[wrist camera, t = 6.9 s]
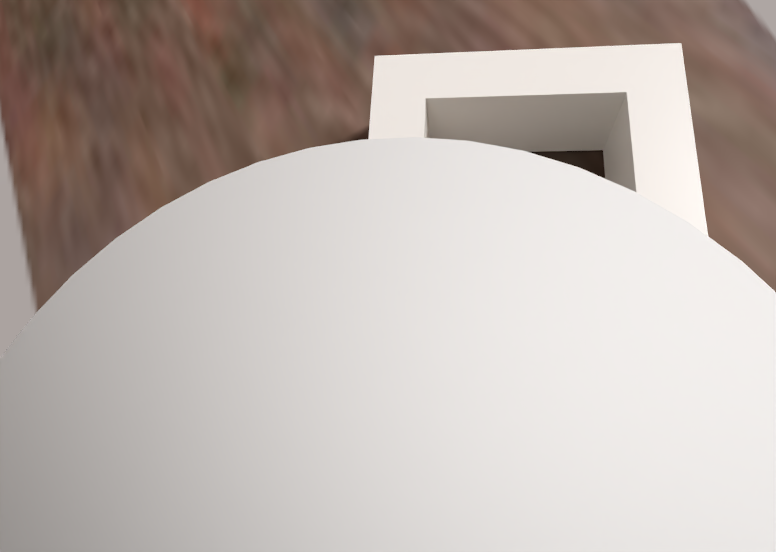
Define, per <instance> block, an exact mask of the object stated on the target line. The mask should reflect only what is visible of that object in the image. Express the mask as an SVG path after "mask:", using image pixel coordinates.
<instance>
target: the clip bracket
mask: <svg viewBox="0 0 776 552" xmlns="http://www.w3.org/2000/svg"><path fill="white" fill-rule="evenodd" d="M406 137H421V138H436V139H451V140H466V141H473V142H479V143H484V144H490V145H495V146H501V147H506V148H512V149H517V150H523V151H526V152H537V151H591V150H603V157H604V170H605V179H607V180H609V181H612V182H614V183H616V184H619V185H621V186H623V187H626V188H628V189H630V190H632V191H635V192H636V193H638V194H640V195H642V196H643V197H645V198H647V199H649V200H650V201H652V202H654V203H656V204H657V205H659V206H661V207H663V208H664V209H666V210H668V211H670V212H671V213H673V214H675V215H677V216H678V217H680V218H682V219H684V220H685V221H687V222H689V223H690V224H692V225H693V226H694V227H696V228H697V229H698V230H700V231H701V232H702V233H704V234H705V235H707V236H708V232H707V225H706V218H705V211H704V204H703V196H702V189H701V182H700V175H699V168H698V161H697V153H696V146H695V139H694V132H693V125H692V118H691V110H690V103H689V96H688V89H687V82H686V74H685V67H684V60H683V53H682V46H681V43H673V44H649V45H625V46H601V47H577V48H553V49H530V50H506V51H482V52H458V53H434V54H410V55H386V56H375V61H374V74H373V87H372V100H371V113H370V126H369V138H368V139H385V138H406Z"/></svg>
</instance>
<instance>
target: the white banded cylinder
mask: <svg viewBox="0 0 776 552" xmlns="http://www.w3.org/2000/svg"><path fill="white" fill-rule="evenodd" d="M0 552H776V292H775V291H774V290H773V289H772V288H771V287H769V286H768V285H767V284H766V283H765V282H764V281H763V280H762V279H761V278H760V277H759V276H757V275H756V274H755V273H754V272H753V271H752V270H751V269H750V268H749V267H748V266H747V265H745V264H744V263H743V262H742V261H741V260H739V259H738V258H737V257H735V256H734V255H733V254H731V253H730V252H728V251H727V250H726V249H724V248H723V247H722V246H720V245H719V244H718V243H716V242H715V241H713V240H712V239H711V238H709V237H708V236H707V235H705V234H704V233H702V232H701V231H700V230H698V229H697V228H696V227H694V226H693V225H692V224H690V223H689V222H687V221H685V220H684V219H682V218H680V217H678V216H677V215H675V214H673V213H671V212H670V211H668V210H666V209H664V208H663V207H661V206H659V205H657V204H656V203H654V202H652V201H650V200H649V199H647V198H645V197H643V196H642V195H640V194H638V193H636V192H635V191H632V190H630V189H628V188H626V187H623V186H621V185H619V184H616V183H614V182H612V181H609V180H607V179H605V178H602V177H600V176H598V175H595V174H593V173H591V172H588V171H586V170H584V169H581V168H579V167H576V166H573V165H569V164H566V163H563V162H559V161H556V160H553V159H549V158H546V157H543V156H540V155H536V154H533V153H530V152H526V151H523V150H517V149H512V148H506V147H501V146H495V145H490V144H484V143H479V142H473V141H466V140H451V139H436V138H421V137H406V138H385V139H364V140H356V141H350V142H343V143H337V144H331V145H325V146H319V147H312V148H307V149H304V150H300V151H297V152H293V153H289V154H286V155H282V156H279V157H275V158H272V159H268V160H264V161H261V162H258V163H255V164H253V165H250V166H248V167H245V168H243V169H240V170H238V171H235V172H233V173H230V174H228V175H225V176H223V177H220V178H218V179H215V180H213V181H210V182H208V183H206V184H204V185H202V186H201V187H199V188H197V189H195V190H193V191H191V192H189V193H187V194H186V195H184V196H182V197H180V198H178V199H176V200H174V201H172V202H171V203H169V204H167V205H165V206H163V207H161V208H160V209H158V210H157V211H155V212H154V213H152V214H151V215H150V216H148V217H147V218H145V219H144V220H142V221H141V222H139V223H138V224H136V225H135V226H133V227H132V228H130V229H129V230H127V231H126V232H125V233H123V234H122V235H120V236H119V237H117V238H116V239H115V240H113V241H112V242H111V243H110V244H109V245H107V246H106V247H105V248H104V249H103V250H102V251H100V252H99V253H98V254H97V255H96V256H94V257H93V258H92V259H91V260H90V261H89V262H87V263H86V264H85V265H84V266H83V267H81V268H80V269H79V270H78V271H77V272H76V273H74V274H73V275H72V276H71V277H70V278H69V279H68V280H67V281H66V282H65V283H64V285H63V286H62V287H61V288H60V289H59V290H58V291H57V292H56V293H55V294H54V295H53V296H52V297H51V298H50V299H49V300H48V301H47V302H46V303H45V304H44V305H43V306H42V307H41V308H40V309H39V311H38V312H37V313H36V314H35V315H34V316H33V317H32V318H31V319H30V321H29V322H28V323H27V324H26V326H25V327H24V328H23V329H22V331H21V332H20V333H19V335H18V336H17V337H16V338H15V340H14V341H13V342H12V344H11V345H10V346H9V347H8V349H7V350H6V351H5V352H4V354H3V355H2V356H1V358H0Z"/></svg>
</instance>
